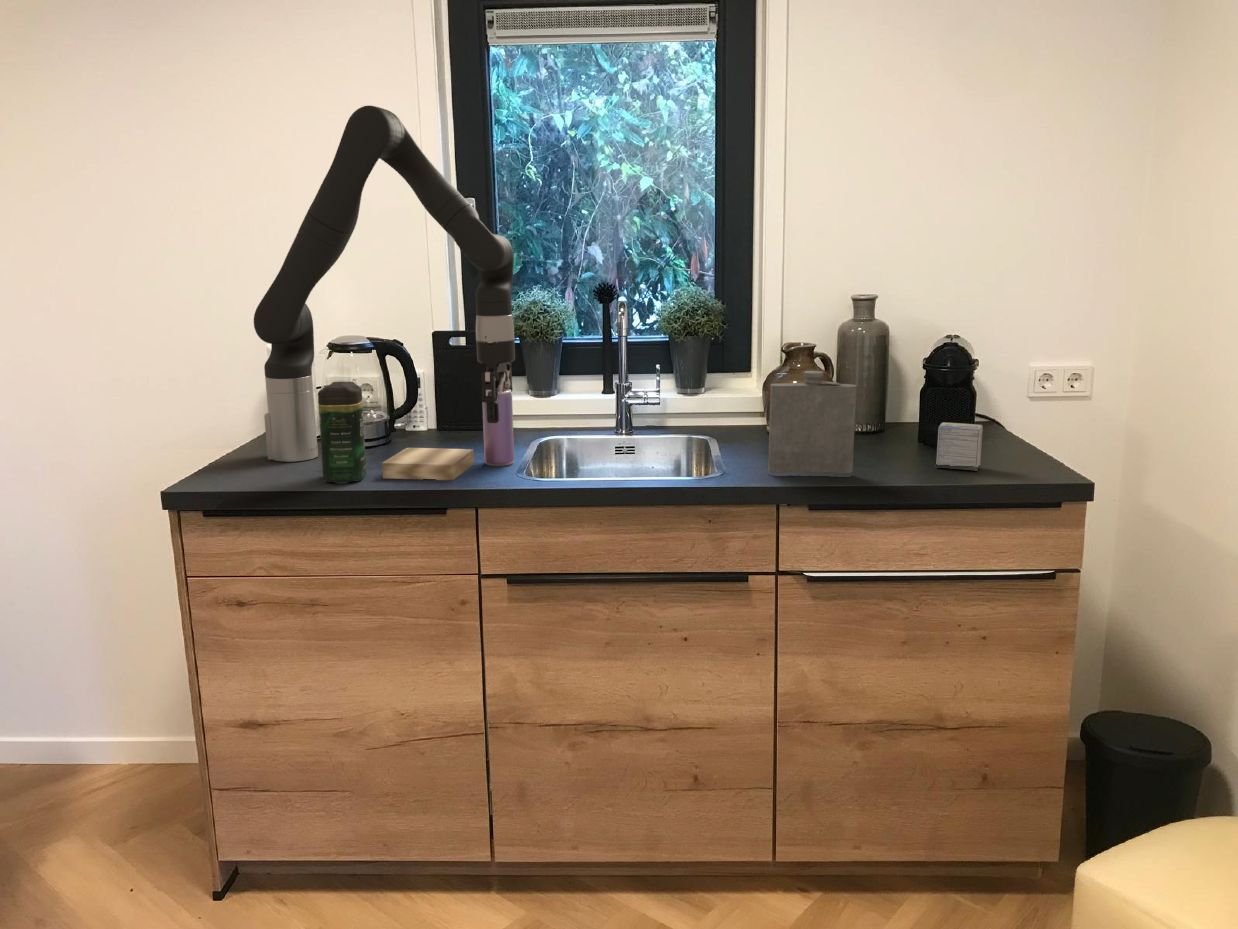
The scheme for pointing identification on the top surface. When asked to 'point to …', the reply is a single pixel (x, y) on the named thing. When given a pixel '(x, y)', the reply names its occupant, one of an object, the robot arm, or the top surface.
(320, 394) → the coffee jar
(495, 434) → the beverage can
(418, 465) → the plinth
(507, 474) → the top surface
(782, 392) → the hip flask
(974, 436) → the medicine box
